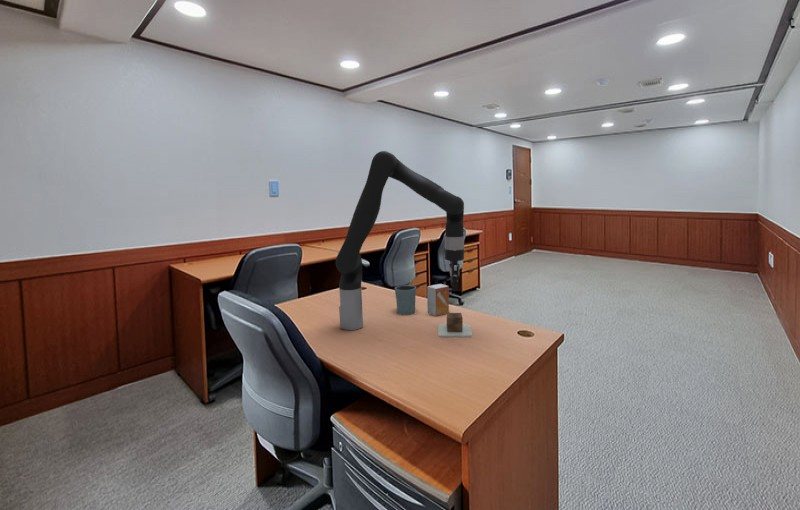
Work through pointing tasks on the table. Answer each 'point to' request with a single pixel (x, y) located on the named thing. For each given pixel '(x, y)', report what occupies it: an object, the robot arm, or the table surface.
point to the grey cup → (405, 299)
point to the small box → (438, 299)
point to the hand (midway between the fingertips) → (454, 288)
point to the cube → (454, 322)
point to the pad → (443, 332)
